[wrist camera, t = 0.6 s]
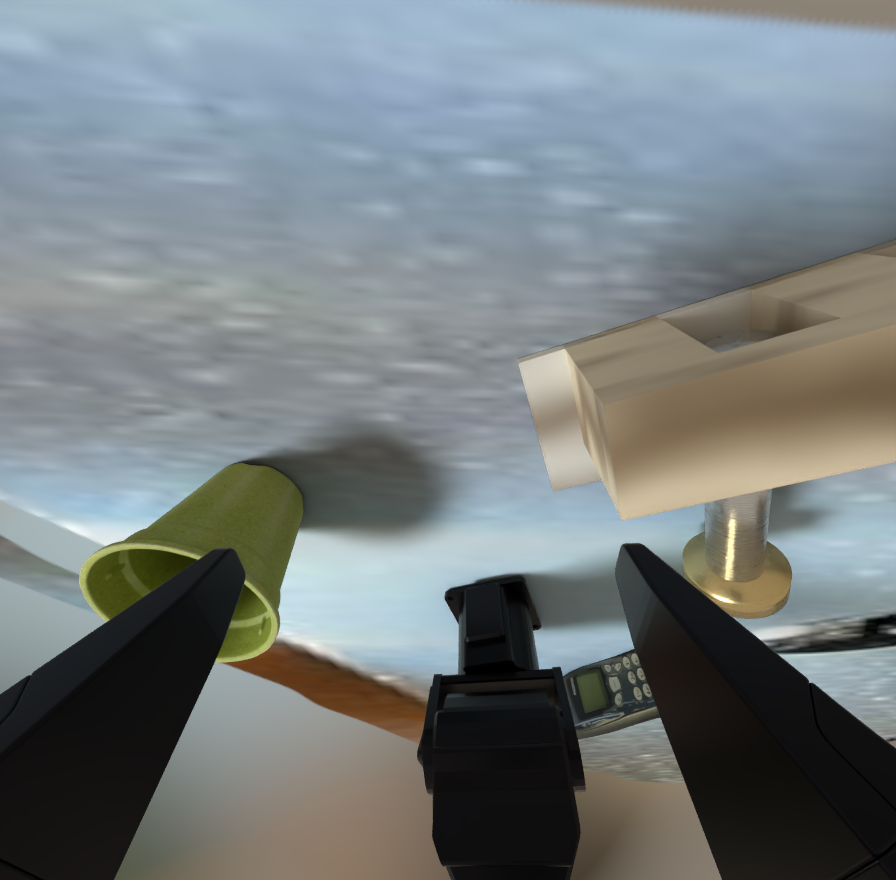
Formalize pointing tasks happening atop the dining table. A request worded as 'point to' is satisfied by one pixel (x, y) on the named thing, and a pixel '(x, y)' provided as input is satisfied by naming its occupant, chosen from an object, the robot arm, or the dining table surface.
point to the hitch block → (727, 391)
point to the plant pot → (197, 533)
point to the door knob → (739, 539)
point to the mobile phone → (609, 695)
